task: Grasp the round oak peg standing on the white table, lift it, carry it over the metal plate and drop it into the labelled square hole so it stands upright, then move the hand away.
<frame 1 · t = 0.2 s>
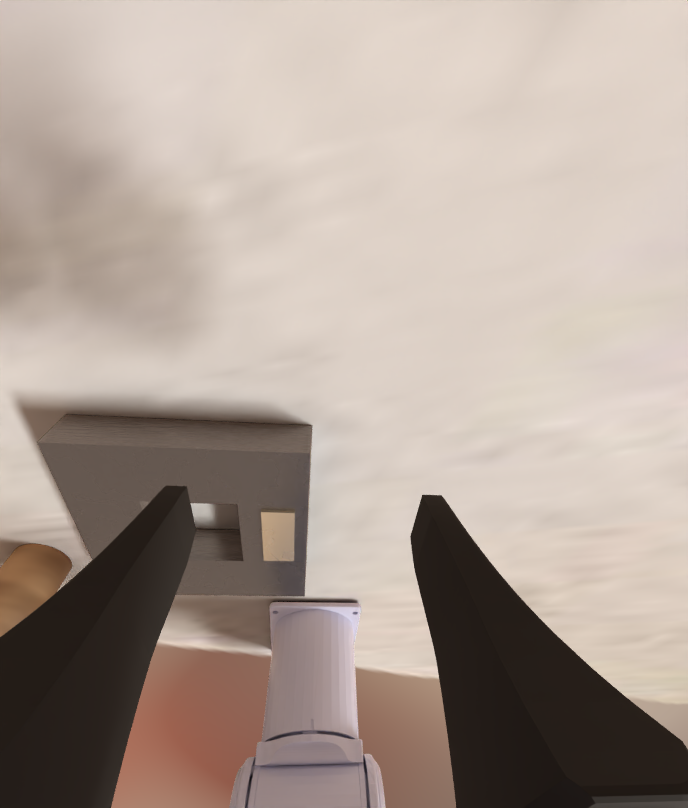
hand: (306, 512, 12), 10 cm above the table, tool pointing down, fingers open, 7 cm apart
plate: (206, 502, 26), on the table
peg: (43, 560, 29), on the table
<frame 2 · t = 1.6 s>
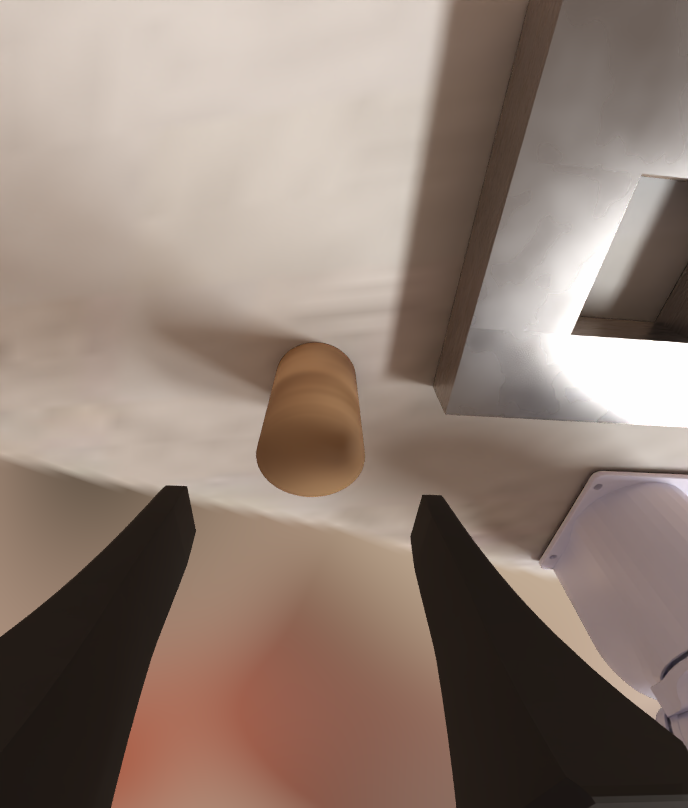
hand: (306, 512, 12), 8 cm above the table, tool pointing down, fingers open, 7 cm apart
plate: (628, 255, 16), on the table
peg: (316, 379, 19), on the table
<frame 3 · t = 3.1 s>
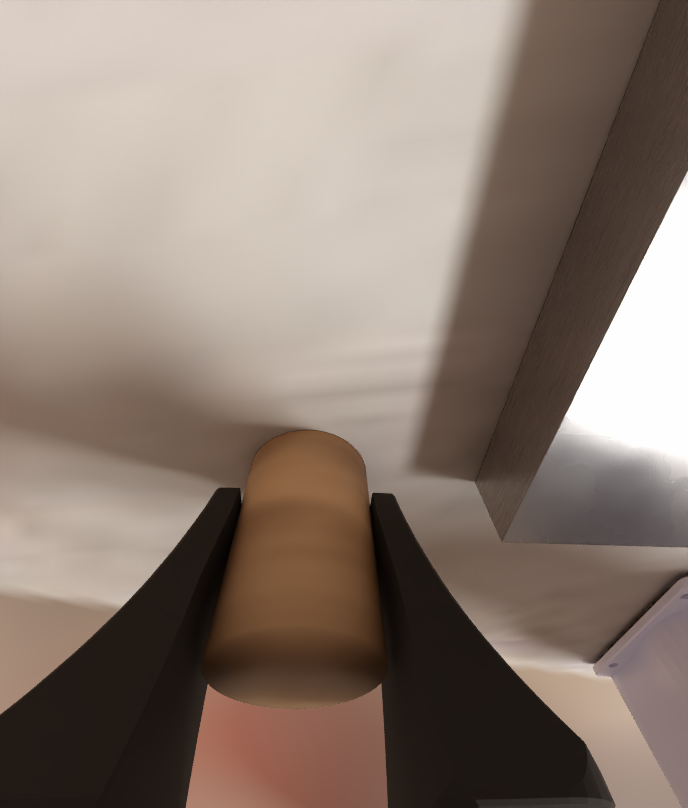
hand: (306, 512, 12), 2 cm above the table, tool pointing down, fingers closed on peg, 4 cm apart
peg: (308, 475, 13), on the table, touching gripper
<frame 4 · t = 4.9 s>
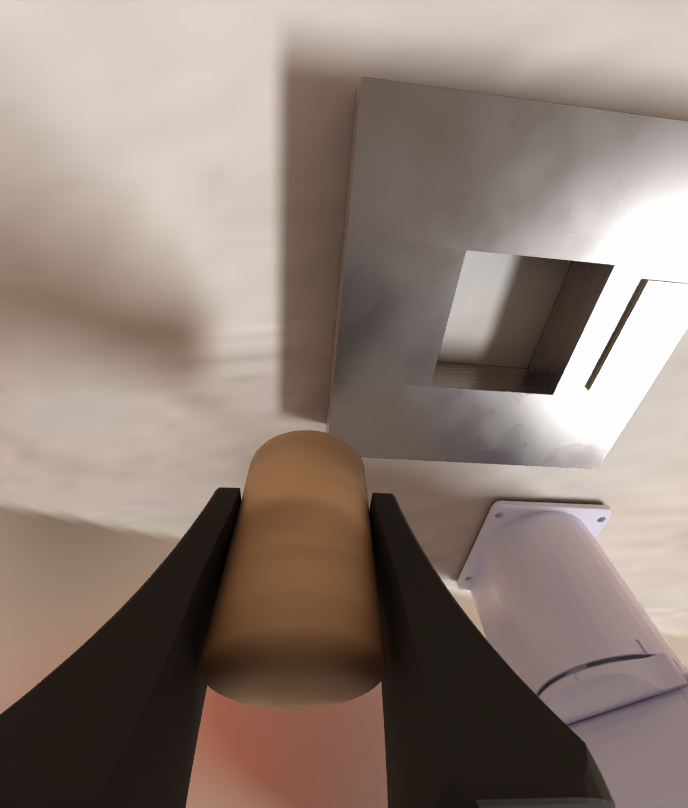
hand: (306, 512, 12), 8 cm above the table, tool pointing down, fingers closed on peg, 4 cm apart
plate: (491, 309, 17), on the table
peg: (307, 475, 13), point 7 cm above the table, touching gripper
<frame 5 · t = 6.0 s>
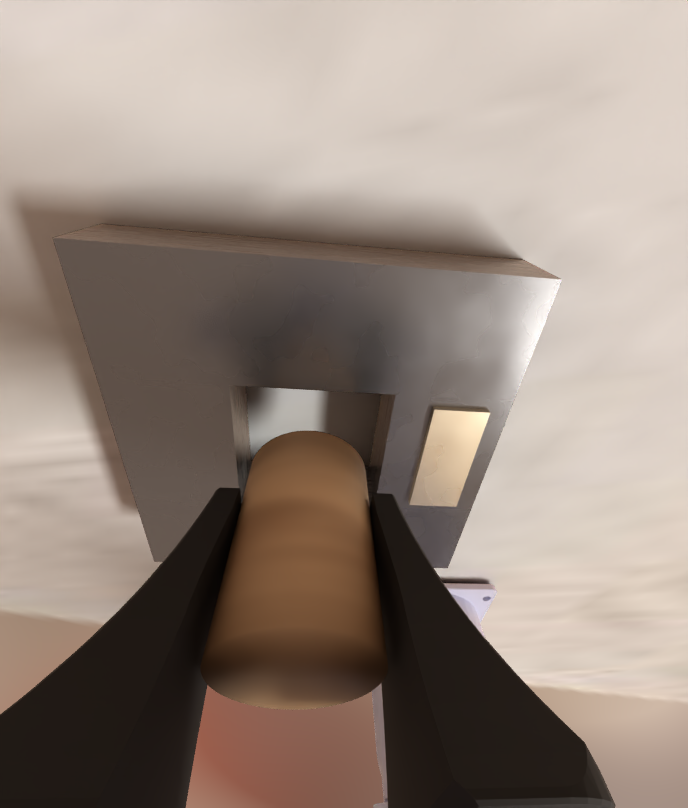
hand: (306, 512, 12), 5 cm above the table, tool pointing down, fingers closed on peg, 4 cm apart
plate: (313, 415, 16), on the table
peg: (308, 476, 13), point 4 cm above the table, touching gripper
when the fingers open (5 cm above the table, at t = 6.9 s): peg drops 3 cm, resting in plate.
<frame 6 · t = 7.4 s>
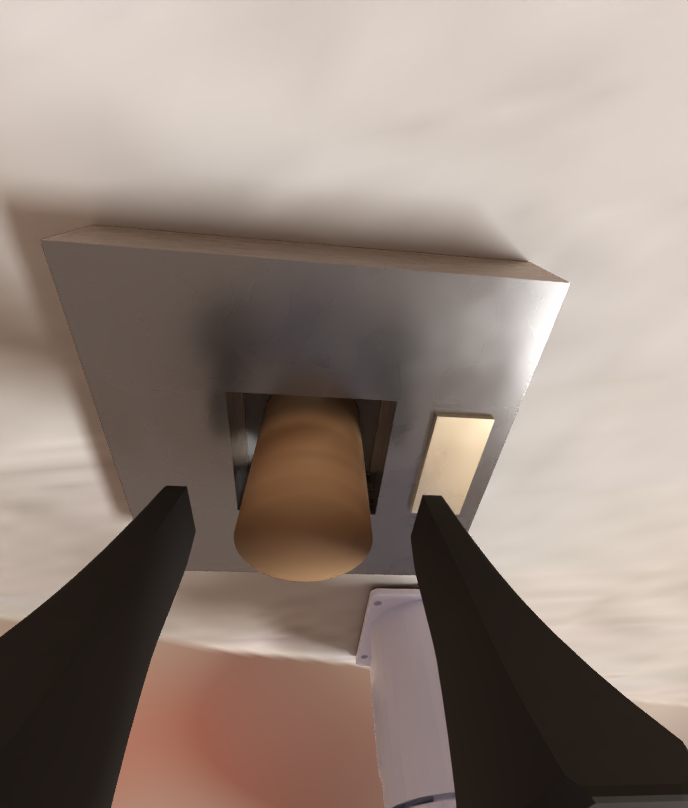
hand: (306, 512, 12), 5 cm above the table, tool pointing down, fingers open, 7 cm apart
plate: (312, 420, 16), on the table
peg: (312, 420, 16), resting in plate
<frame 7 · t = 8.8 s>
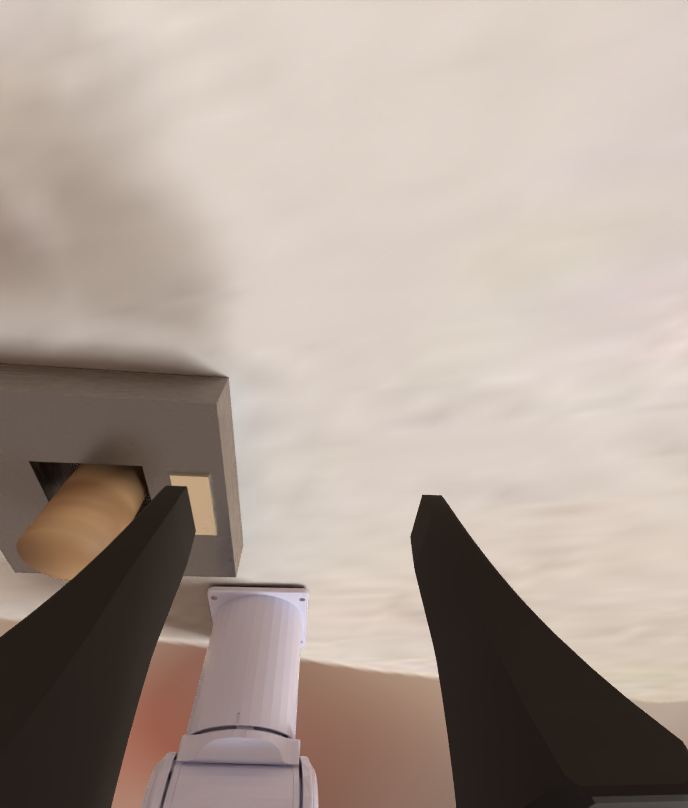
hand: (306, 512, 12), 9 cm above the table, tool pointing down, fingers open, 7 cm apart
plate: (121, 470, 23), on the table
peg: (121, 469, 23), resting in plate
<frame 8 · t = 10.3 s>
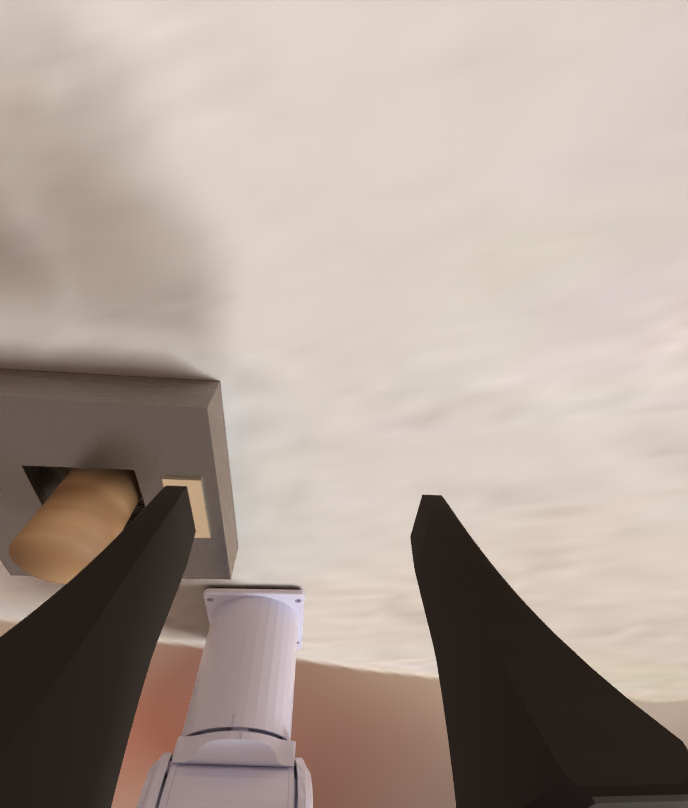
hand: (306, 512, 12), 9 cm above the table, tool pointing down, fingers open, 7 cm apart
plate: (114, 473, 23), on the table
peg: (115, 473, 23), resting in plate
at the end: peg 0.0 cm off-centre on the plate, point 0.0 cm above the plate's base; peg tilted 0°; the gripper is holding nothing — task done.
